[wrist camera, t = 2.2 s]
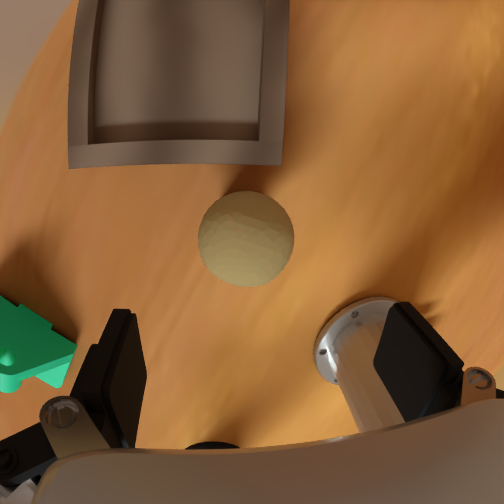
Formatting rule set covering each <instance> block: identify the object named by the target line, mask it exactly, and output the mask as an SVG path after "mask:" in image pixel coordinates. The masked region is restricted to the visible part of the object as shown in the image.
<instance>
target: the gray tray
mask: <svg viewBox="0 0 504 504" xmlns="http://www.w3.org/2000/svg"><path fill="white" fill-rule="evenodd" d="M288 30H289V0H79V3H78V9H77V15H76V21H75V28H74V35H73V44H72V53H71V63H70V76H69V94H68V161H69V169H76V168H89V167H104V166H122V165H147V164H248V165H274V166H282V151H283V134H284V116H285V98H286V77H287V55H288Z"/></svg>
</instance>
